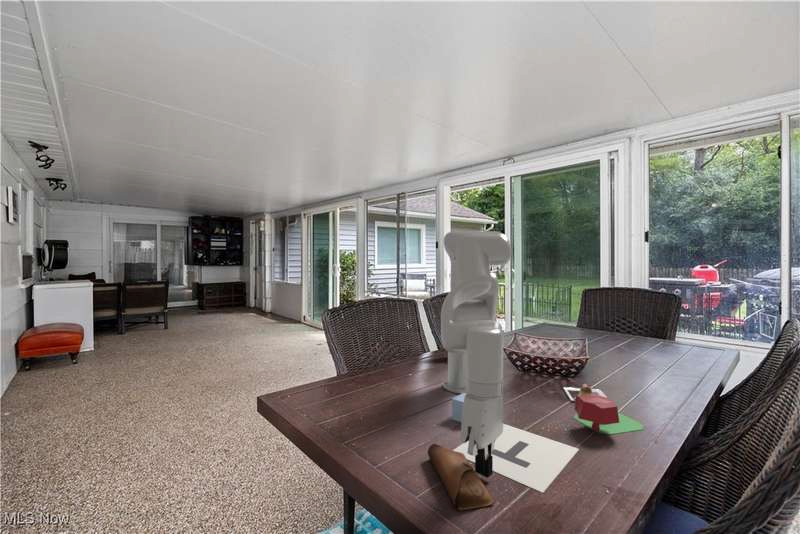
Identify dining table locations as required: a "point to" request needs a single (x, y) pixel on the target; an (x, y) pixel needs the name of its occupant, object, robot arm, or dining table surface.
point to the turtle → (603, 415)
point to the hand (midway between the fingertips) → (483, 473)
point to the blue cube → (457, 407)
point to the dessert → (583, 391)
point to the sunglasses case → (459, 479)
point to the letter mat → (527, 457)
